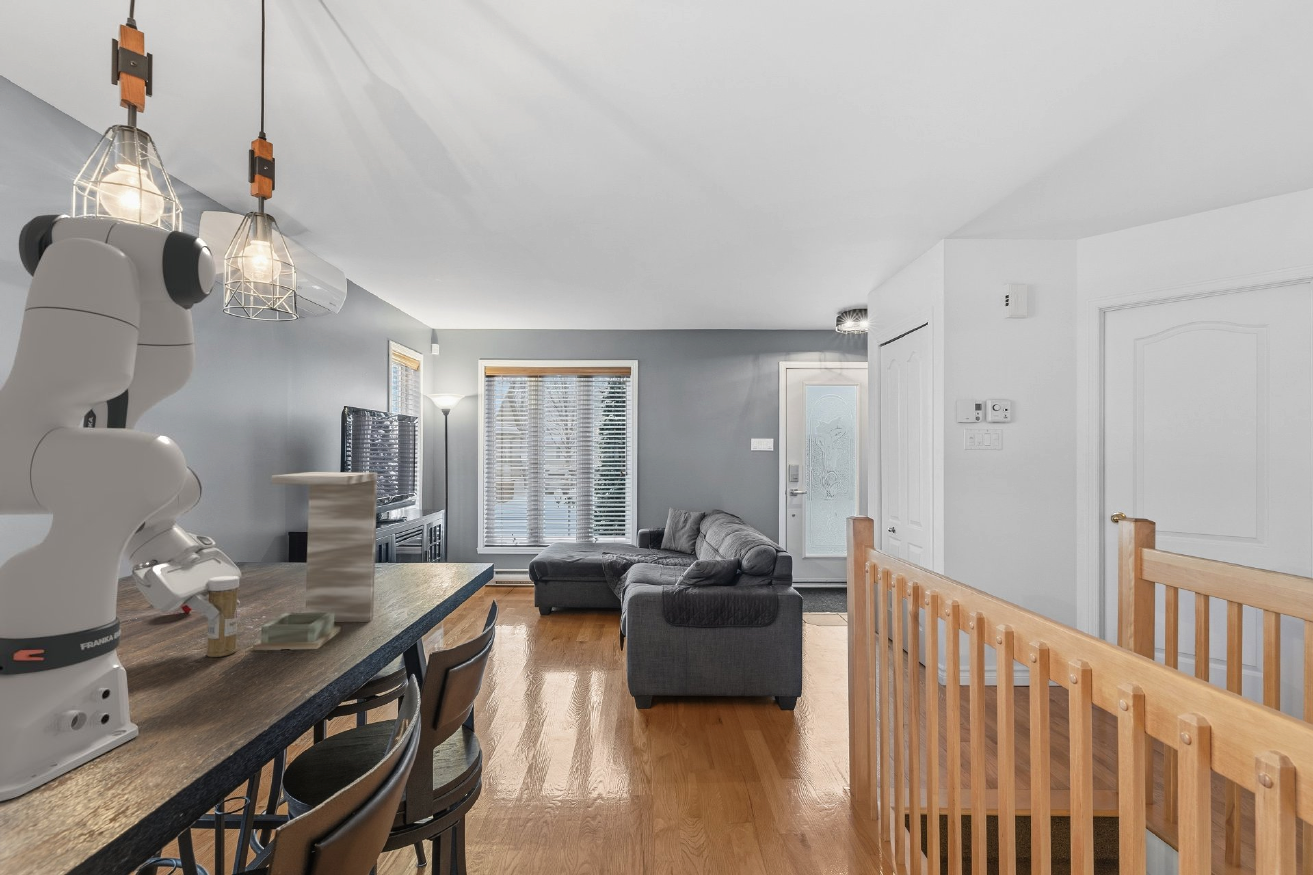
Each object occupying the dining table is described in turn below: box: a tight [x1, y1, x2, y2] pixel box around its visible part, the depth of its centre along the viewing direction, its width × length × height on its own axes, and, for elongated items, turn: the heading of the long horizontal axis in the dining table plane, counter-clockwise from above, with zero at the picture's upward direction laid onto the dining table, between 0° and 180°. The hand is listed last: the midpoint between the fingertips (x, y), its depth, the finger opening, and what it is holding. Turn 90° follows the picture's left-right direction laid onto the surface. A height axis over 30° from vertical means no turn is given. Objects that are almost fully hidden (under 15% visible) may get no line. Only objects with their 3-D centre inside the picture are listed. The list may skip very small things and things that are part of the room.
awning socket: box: [252, 471, 378, 651], centre depth 123 cm, size 20×14×32 cm
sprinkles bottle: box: [205, 576, 240, 658], centre depth 110 cm, size 5×5×14 cm
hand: (226, 611), depth 110 cm, fingers closed on sprinkles bottle, 4 cm apart
